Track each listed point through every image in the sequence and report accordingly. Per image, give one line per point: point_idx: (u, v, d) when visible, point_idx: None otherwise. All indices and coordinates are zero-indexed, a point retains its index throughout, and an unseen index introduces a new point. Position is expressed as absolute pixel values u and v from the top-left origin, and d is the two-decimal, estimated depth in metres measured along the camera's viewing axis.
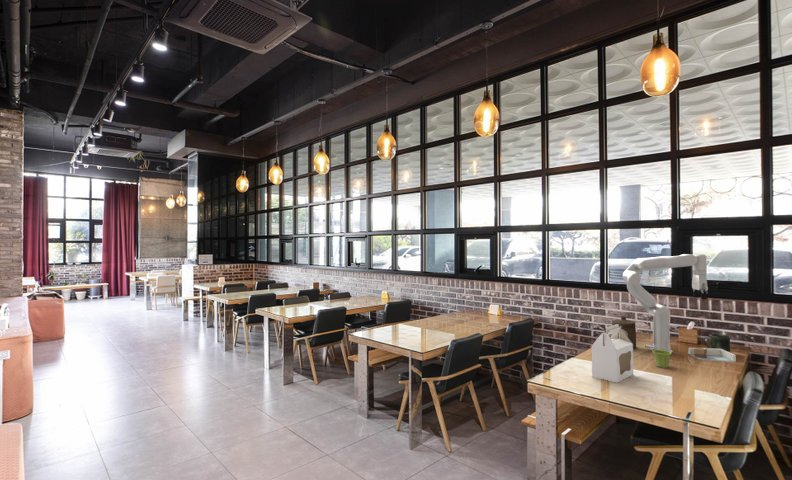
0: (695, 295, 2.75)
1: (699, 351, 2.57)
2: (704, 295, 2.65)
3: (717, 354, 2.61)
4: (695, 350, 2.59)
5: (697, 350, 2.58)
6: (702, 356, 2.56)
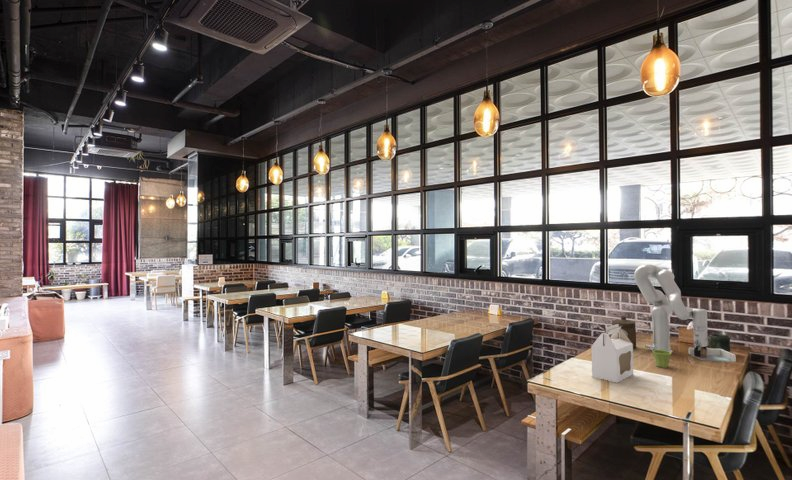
0: None
1: None
2: None
3: (717, 354, 2.61)
4: None
5: None
6: (702, 356, 2.56)
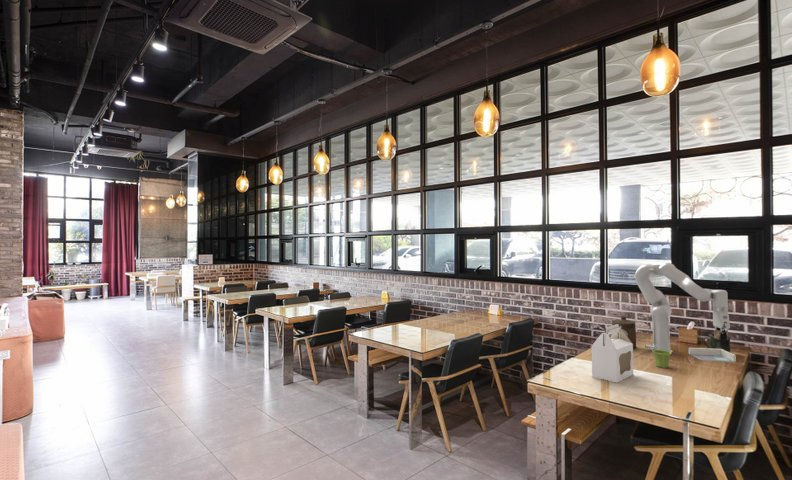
0: None
1: None
2: None
3: (717, 354, 2.61)
4: (719, 333, 2.51)
5: None
6: None
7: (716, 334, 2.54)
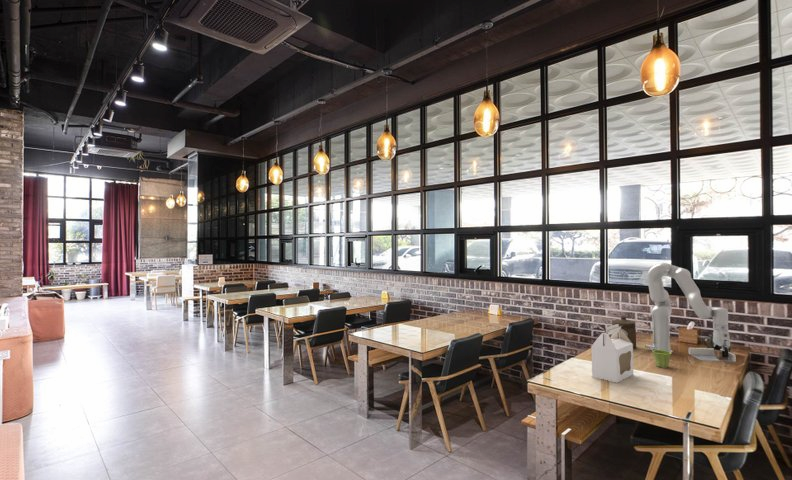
0: None
1: None
2: None
3: None
4: (720, 353, 2.51)
5: None
6: (727, 358, 2.50)
7: (716, 354, 2.53)
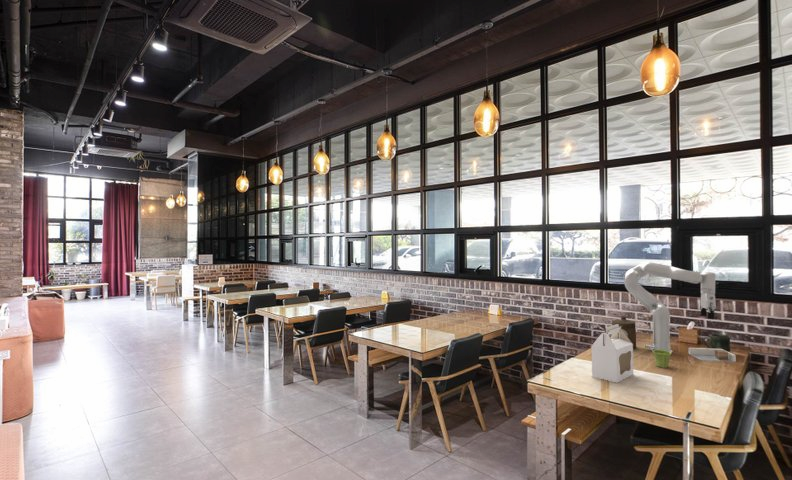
0: None
1: (724, 353, 2.50)
2: None
3: None
4: (720, 353, 2.51)
5: (722, 353, 2.50)
6: (727, 358, 2.50)
7: (716, 354, 2.53)
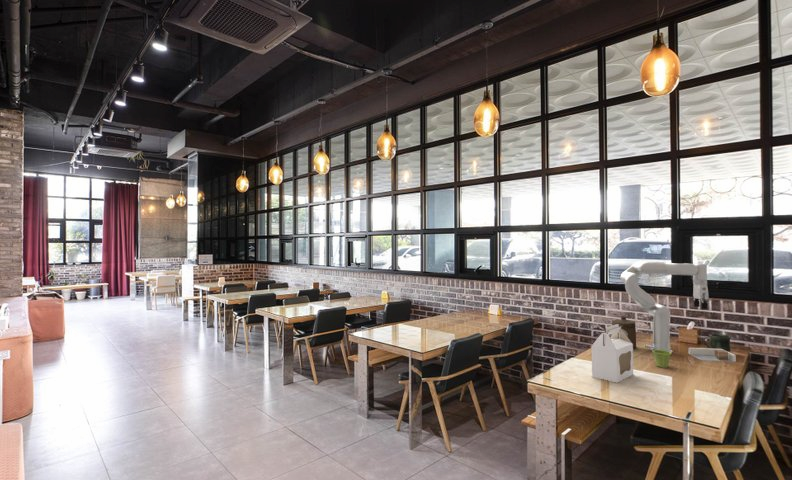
0: None
1: (724, 353, 2.50)
2: None
3: None
4: (720, 353, 2.51)
5: (722, 353, 2.50)
6: (727, 358, 2.50)
7: (716, 354, 2.53)
